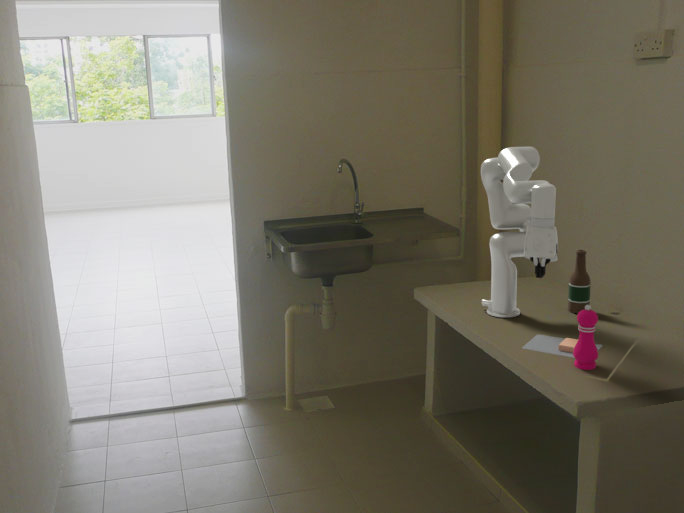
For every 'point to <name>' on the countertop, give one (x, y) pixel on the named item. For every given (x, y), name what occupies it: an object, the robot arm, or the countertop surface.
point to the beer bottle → (579, 285)
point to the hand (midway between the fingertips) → (539, 276)
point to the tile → (568, 345)
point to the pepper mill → (586, 340)
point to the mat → (549, 345)
